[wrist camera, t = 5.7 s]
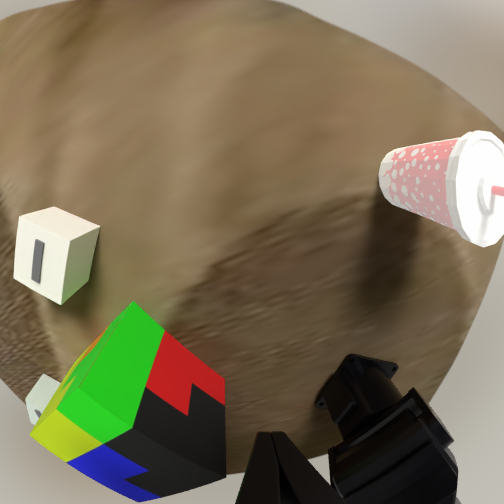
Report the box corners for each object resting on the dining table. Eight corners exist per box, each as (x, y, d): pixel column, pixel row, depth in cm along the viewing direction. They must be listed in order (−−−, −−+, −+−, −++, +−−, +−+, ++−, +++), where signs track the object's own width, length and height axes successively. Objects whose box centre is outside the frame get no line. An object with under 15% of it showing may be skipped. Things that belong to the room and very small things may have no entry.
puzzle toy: (155, 422, 23) (138, 502, 14) (75, 361, 21) (29, 435, 11) (224, 378, 22) (226, 477, 13) (133, 300, 20) (78, 387, 10)
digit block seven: (78, 391, 22) (62, 422, 17) (79, 415, 23) (65, 443, 18) (43, 373, 21) (24, 400, 17) (46, 397, 22) (30, 424, 18)
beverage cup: (381, 228, 20) (534, 304, 6) (359, 149, 18) (533, 139, 4) (437, 203, 19) (578, 248, 6) (419, 131, 18) (572, 125, 4)
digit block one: (100, 226, 18) (68, 241, 14) (88, 280, 19) (59, 306, 14) (54, 206, 17) (17, 216, 13) (45, 259, 18) (12, 279, 14)
